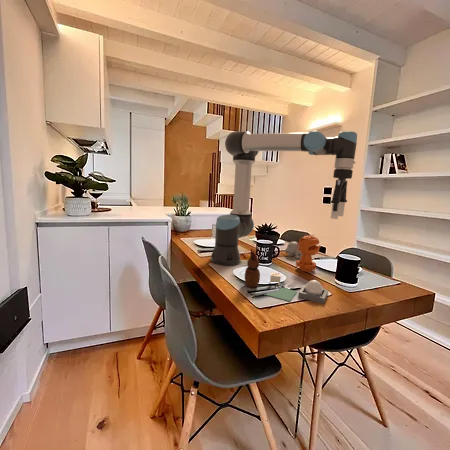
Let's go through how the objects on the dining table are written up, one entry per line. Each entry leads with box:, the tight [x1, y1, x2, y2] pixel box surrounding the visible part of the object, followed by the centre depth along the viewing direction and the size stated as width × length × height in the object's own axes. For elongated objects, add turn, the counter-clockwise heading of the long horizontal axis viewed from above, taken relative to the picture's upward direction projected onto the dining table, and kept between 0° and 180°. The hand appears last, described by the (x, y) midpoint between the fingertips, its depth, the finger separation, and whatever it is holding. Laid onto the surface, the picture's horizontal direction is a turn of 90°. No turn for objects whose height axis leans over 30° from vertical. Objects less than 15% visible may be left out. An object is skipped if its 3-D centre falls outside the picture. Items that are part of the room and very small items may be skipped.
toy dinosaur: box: [295, 234, 322, 273], centre depth 128 cm, size 11×11×18 cm
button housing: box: [297, 284, 329, 305], centre depth 100 cm, size 9×9×2 cm
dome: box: [304, 279, 324, 297], centre depth 99 cm, size 6×6×5 cm
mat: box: [263, 287, 298, 302], centre depth 100 cm, size 10×10×1 cm
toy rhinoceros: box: [284, 241, 303, 260], centre depth 151 cm, size 7×12×8 cm, turn 26°
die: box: [269, 272, 282, 286], centre depth 110 cm, size 4×4×4 cm
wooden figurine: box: [244, 247, 261, 288], centre depth 105 cm, size 7×6×15 cm
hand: (337, 217), depth 119 cm, fingers open, 13 cm apart
